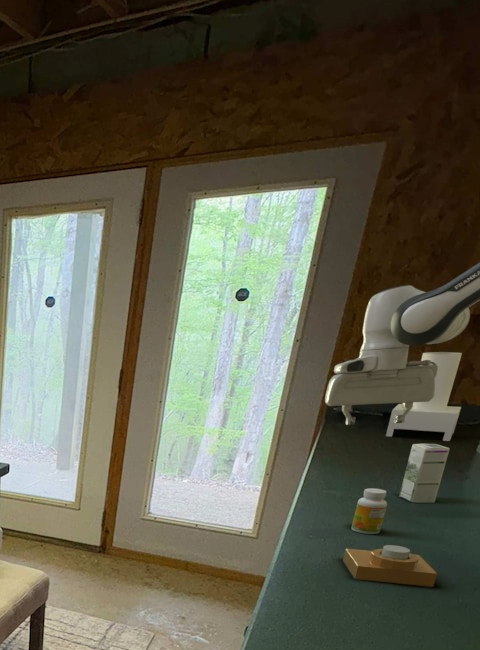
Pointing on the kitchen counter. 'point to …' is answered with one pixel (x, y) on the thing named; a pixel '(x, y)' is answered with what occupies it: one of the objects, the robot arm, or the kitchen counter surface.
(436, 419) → the white toy chair
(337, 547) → the kitchen counter surface
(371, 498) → the supplement bottle
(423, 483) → the syrup box
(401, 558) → the grey button cap
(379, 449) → the kitchen counter surface
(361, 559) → the button base
